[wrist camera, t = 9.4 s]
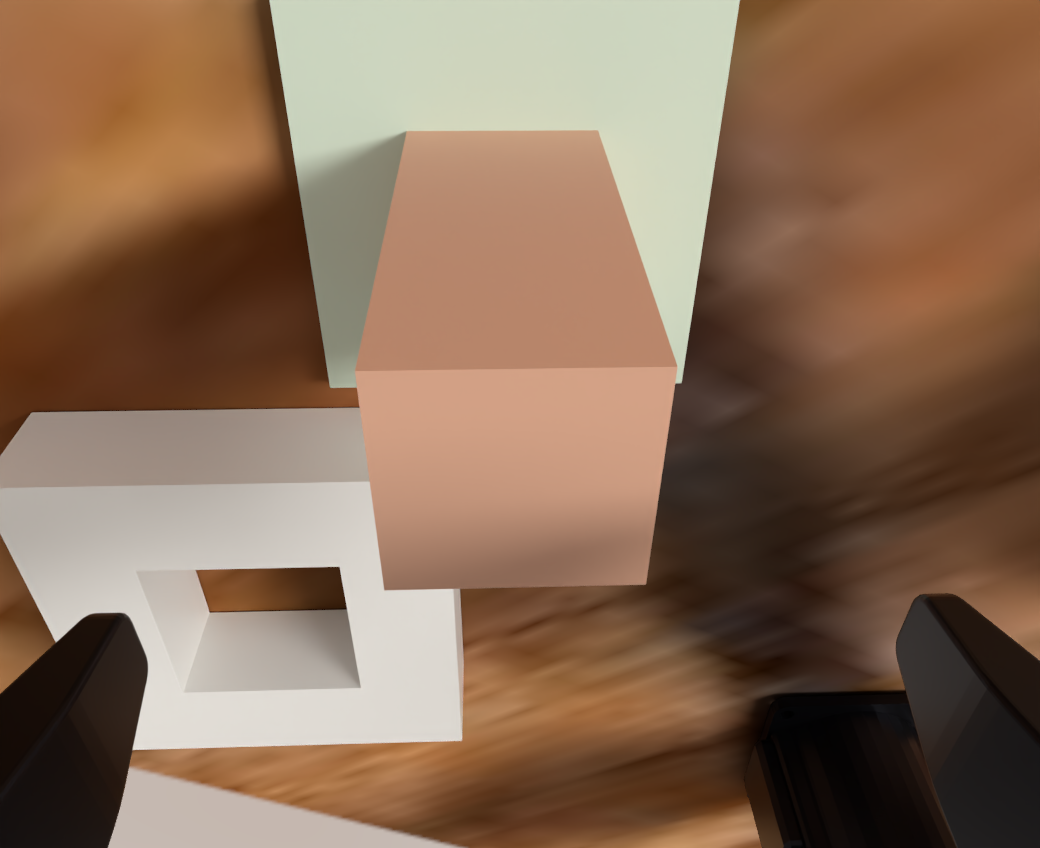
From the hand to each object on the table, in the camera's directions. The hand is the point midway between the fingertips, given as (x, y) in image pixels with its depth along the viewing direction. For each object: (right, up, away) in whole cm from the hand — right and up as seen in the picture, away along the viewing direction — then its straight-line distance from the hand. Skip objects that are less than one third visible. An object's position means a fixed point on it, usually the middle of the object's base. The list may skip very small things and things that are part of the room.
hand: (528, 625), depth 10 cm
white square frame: (-8, -2, +16) cm, 18 cm away
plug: (0, +7, +9) cm, 11 cm away
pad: (0, +7, +9) cm, 12 cm away
